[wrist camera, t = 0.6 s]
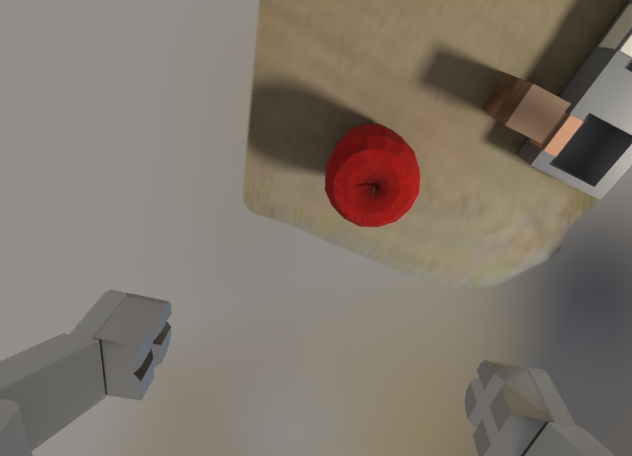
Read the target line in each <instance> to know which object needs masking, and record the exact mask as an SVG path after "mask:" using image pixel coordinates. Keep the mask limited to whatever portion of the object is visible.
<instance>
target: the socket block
mask: <svg viewBox="0 0 632 456" xmlns="http://www.w3.org/2000/svg"><path fill="white" fill-rule="evenodd" d="M558 97H559V98H561V99H563V100H565V101H567V102H569V103H571V104H570V106H569V107H568V108H567V110H566V111H565V112H564V114H563V115H562V116H561V118H560V119H559V120H558V122H557V123H556V124H555V126H554V127H553V128H552V130H551V131H550V132H549V134H548V135H547V136H546V138H545V139H544V140H543V142H542V143H539V142H537V141H535V140H533V139H531V138H529V137H528V138H527V140H526V141H525V142H524V144H523V145H522V147H521V148H520V149H519V151H518V152H517V154H518V155H519V156H520V157H521V158H523V159H524V160H525V161H526V162H527V163H529V164H530V165H531V166H533V167H535V168H537V169H539V170H541V171H543V172H545V173H547V174H549V175H551V176H553V177H555V178H557V179H559V180H561V181H563V182H565V183H567V184H569V185H571V186H573V187H575V188H577V189H579V190H581V191H583V192H585V193H587V194H589V195H591V196H593V197H595V198H597V199H599V200H601V198H602V197H603V196H604V195H605V194H606V193H607V192H608V190H610V188H611V187H612V186H613V185H614V184H615V183H616V182H617V181H618V179H619V178H620V177H621V176H622V175H623V174H624V173H625V172H626V170H627V169H628V168H629V167H630V166H631V165H632V0H628V1H627V3H626V4H625V5H624V7H623V8H622V9H621V11H620V12H619V14H618V15H617V16H616V18H615V19H614V20H613V22H612V23H611V25H610V26H609V27H608V29H607V30H606V31H605V33H604V34H603V36H602V37H601V38H600V40H599V41H598V42H597V44H596V45H595V46H594V48H593V49H592V51H591V52H590V53H589V55H588V56H587V57H586V59H585V60H584V62H583V63H582V64H581V66H580V67H579V68H578V70H577V71H576V73H575V74H574V75H573V77H572V78H571V79H570V81H569V82H568V83H567V85H566V86H565V88H564V89H563V90H562V92H561V93H560V94H559V96H558Z"/></svg>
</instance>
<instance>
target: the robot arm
mask: <svg viewBox="0 0 632 456" xmlns="http://www.w3.org/2000/svg"><path fill="white" fill-rule="evenodd" d="M170 315H171V303H170V302H168V301H163V300H159V299H155V298H150V297H145V296H140V295H136V294H131V293H130V294H128V293H124V292H118V291H115V290H109V291H107V292H106V293H104V294H103V295H102V297H101V298H100V299H99V300H98V301H97V303H96V304H95V305H94V306H93V307H92V308H91V310H90V311H89V312H88V313H87V314H86V315H85V317H84V318H83V319H82V320H81V321H80V322H79V324H78V325H77V326H76V327H75V328H74V330H73V331H72V332H71V333H70V334H64V333H63V334H61V335H58V336H56V337H54V338H52V339H49V340H47V341H45V342H43V343H40V344H38V345H36V346H34V347H31V348H29V349H27V350H25V351H23V352H20V353H18V354H16V355H14V356H12V357H9V358H7V359H5V360H3V361H0V456H32V453H31V451H33V450H34V449H35V448H37V447H38V446H39V445H41V444H42V443H44V442H45V441H46V440H48V439H49V438H50V437H52V436H53V435H54V434H56V433H57V432H59V431H60V430H61V429H63V428H64V427H65V426H67V425H68V424H70V423H71V422H72V421H74V420H75V419H76V418H78V417H79V416H80V415H82V414H83V413H85V412H86V411H87V410H89V409H90V408H91V407H93V406H94V405H96V404H97V403H98V402H100V401H101V400H102V399H104V398H105V397H106V396H105V395H109V396H116V397H122V398H129V399H136V400H142V399H143V397H144V395H145V393H146V391H147V389H148V387H149V386H150V384H151V382H152V380H153V378H154V367H156V366H158V365H159V364H161V363H162V361H163V359H164V357H165V355H166V352H167V349H168V346H169V342H170V337H171V326H170V325H169V323H168V322H167V320H168V318H169V317H170ZM477 372H478V375H479V378H477V379H475V380H473V381H471V382H470V384H469V386H468V388H467V390H466V396H465V410H466V414H467V417H468V420H469V421H470V422H471V423H472V424H473V425H474V426H475V427H476V430H475V432H474V434H473V438H474V441H475V445H476V448H477V452H478V455H479V456H614V455H613V454H612V453H611V452H610V451H608V450H607V449H606V448H605V447H604V446H603V445H601V444H600V443H599V442H598V441H597V440H596V439H595V438H593V437H592V436H591V435H590V434H589V433H588V432H587V431H585V430H584V429H583V428H579V427H576V425H575V423H574V421H573V420H572V418H571V416H570V414H569V412H568V410H567V408H566V407H565V405H564V403H563V402H562V399H561V398H560V396H559V394H558V392H557V390H556V388H555V386H554V385H553V383H552V381H551V379H550V377H549V375H548V374H547V373H546V372H544V370H540V369H534V368H528V367H521V366H515V365H509V364H504V363H498V362H493V361H487V360H485V361H483V362H482V363H481V364H480V365H479V368H478V369H477Z"/></svg>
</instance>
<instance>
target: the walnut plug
mask: <svg viewBox="0 0 632 456" xmlns="http://www.w3.org/2000/svg"><path fill="white" fill-rule="evenodd" d="M570 104H571V103H569V102H567V101H565V100H563V99H561V98H559V97H557V96H556V95H554V94H552V93H550V92H548V91H546V90H544V89H542V88H541V87H539V86H537V85H535V84H533V83H530V82H528V81H525V80H522V79H520V78H517V77H515V76H512V75H509V74H507V73H505V74H504V76H503V77H502V79H501V80H500V82H499V83H498V85H497V86H496V88H495V89H494V91H493V92H492V94H491V96H490V97H489V99H488V100H487V102H486V103H485V105H484V106H483V108H482V109H483V110H484V111H486V112H487V113H488V114H490V115H491V116H493V117H494V118H495V119H497V120H498V121H500V122H501V123H503V124H504V125H506V126H507V127H509V128H511V129H513V130H515V131H517V132H519V133H521V134H523V135H525V136H527V137H529V138H531V139H533V140H535V141H537V142H539V143H542V142H543V140H544V139H545V138H546V136H547V135H548V134H549V132H550V131H551V130H552V128H553V127H554V126H555V124H556V123H557V122H558V120H559V119H560V118H561V116H562V115H563V114H564V112H565V111H566V110H567V108H568V107H569V106H570Z"/></svg>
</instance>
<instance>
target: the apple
mask: <svg viewBox="0 0 632 456" xmlns="http://www.w3.org/2000/svg"><path fill="white" fill-rule="evenodd" d="M419 183H420V171H419V166H418V163H417V160H416V156H415V153H414V151H413V150H412V149H411V147H410V146H409V145H408V144H407V143H406V142H405V140H404V139H403V138H402V137H401V136H399V135H398V134H397V133H395V132H394V131H393V130H391V129H389V128H387V127H385V126H383V125H380V124H364V125H361V126H358V127H355V128H352V129H351V130H350V131H349V132H348V133H347V134H346V135H345V136H344V137H343V138H342V139H341V140H340V141H339V142H338V143H337V144H336V146H335V148H334V149H333V151H332V154H331V156H330V158H329V160H328V162H327V164H326V173H325V191H326V193H327V196H328V198H329V200H330V202H331V205H332V206H333V207H334V208H335V209H336V211H337V212H338V213H339V214H340V215H341V216H342V217H343V218H344V219H346V220H348V221H350V222H352V223H354V224H356V225H358V226H360V227H380V226H383V225H386V224H389V223H392V222H396V221H397V220H398V219H399V218H401V217H402V216H403V215H404V214H405V213H406V212H407V211H408V210H410V208H411V207H412V205H413V203H414V201H415V199H416V197H417V196H418V194H419Z"/></svg>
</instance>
